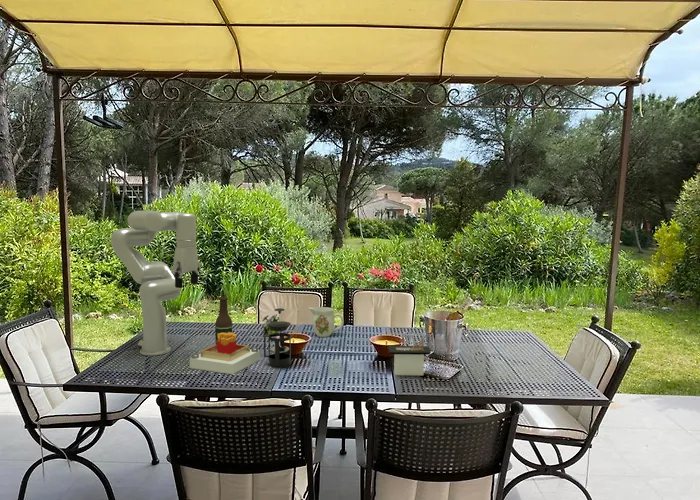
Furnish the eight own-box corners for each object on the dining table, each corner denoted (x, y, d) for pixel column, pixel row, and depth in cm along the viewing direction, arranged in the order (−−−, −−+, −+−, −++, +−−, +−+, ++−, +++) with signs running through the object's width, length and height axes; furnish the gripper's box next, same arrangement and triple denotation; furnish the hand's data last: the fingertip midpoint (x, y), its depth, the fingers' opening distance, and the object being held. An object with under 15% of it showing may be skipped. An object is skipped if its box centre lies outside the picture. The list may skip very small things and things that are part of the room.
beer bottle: (228, 353, 228) (227, 299, 226) (212, 352, 230) (211, 298, 227) (235, 348, 236) (235, 295, 233) (219, 347, 237) (219, 295, 235)
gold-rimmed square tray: (189, 367, 208) (189, 352, 207) (219, 354, 227) (219, 339, 226) (232, 374, 201) (232, 357, 200) (259, 359, 219) (259, 344, 219)
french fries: (215, 362, 214) (215, 333, 213) (220, 359, 218) (219, 331, 216) (234, 363, 212) (234, 334, 210) (238, 361, 215) (238, 332, 214)
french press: (295, 361, 218) (294, 306, 216) (290, 368, 208) (290, 311, 206) (267, 360, 219) (267, 306, 217) (261, 367, 210) (260, 310, 207)
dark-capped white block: (446, 363, 218) (447, 330, 216) (461, 387, 190) (462, 349, 188) (362, 362, 218) (363, 329, 216) (364, 387, 190) (365, 348, 188)
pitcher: (342, 338, 254) (343, 310, 252) (306, 337, 254) (306, 310, 253) (344, 332, 265) (344, 306, 263) (308, 332, 265) (308, 305, 264)
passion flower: (266, 343, 264) (264, 321, 270) (287, 339, 264) (285, 317, 270) (260, 335, 255) (259, 313, 260) (282, 331, 254) (280, 309, 260)
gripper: (192, 241, 220) (192, 281, 222) (164, 245, 204) (164, 288, 206) (207, 242, 218) (207, 283, 220) (179, 246, 202) (180, 290, 203)
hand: (186, 285), depth 213 cm, fingers open, 9 cm apart
